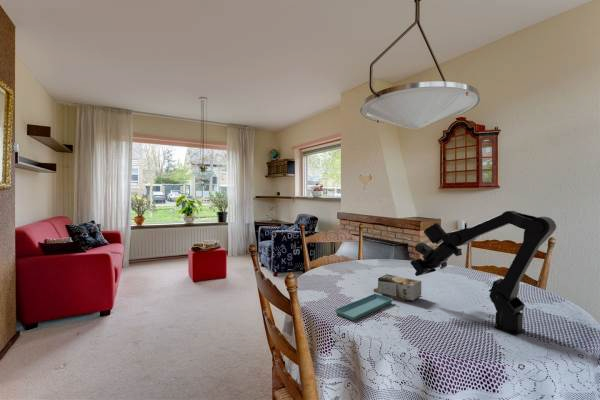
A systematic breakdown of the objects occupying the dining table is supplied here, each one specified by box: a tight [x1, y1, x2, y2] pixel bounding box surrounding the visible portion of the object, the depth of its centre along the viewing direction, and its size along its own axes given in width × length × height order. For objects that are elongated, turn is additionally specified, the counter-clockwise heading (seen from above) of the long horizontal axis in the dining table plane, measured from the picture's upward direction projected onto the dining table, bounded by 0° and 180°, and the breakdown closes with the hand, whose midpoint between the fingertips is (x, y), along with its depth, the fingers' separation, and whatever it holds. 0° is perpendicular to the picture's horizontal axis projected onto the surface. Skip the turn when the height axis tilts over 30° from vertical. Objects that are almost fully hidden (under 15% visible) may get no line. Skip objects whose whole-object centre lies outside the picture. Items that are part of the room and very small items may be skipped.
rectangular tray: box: [334, 293, 394, 321], centre depth 116 cm, size 26×9×2 cm, turn 131°
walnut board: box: [373, 287, 410, 302], centre depth 133 cm, size 16×12×1 cm
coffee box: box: [377, 273, 422, 301], centre depth 129 cm, size 9×6×16 cm
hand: (416, 275), depth 125 cm, fingers closed
